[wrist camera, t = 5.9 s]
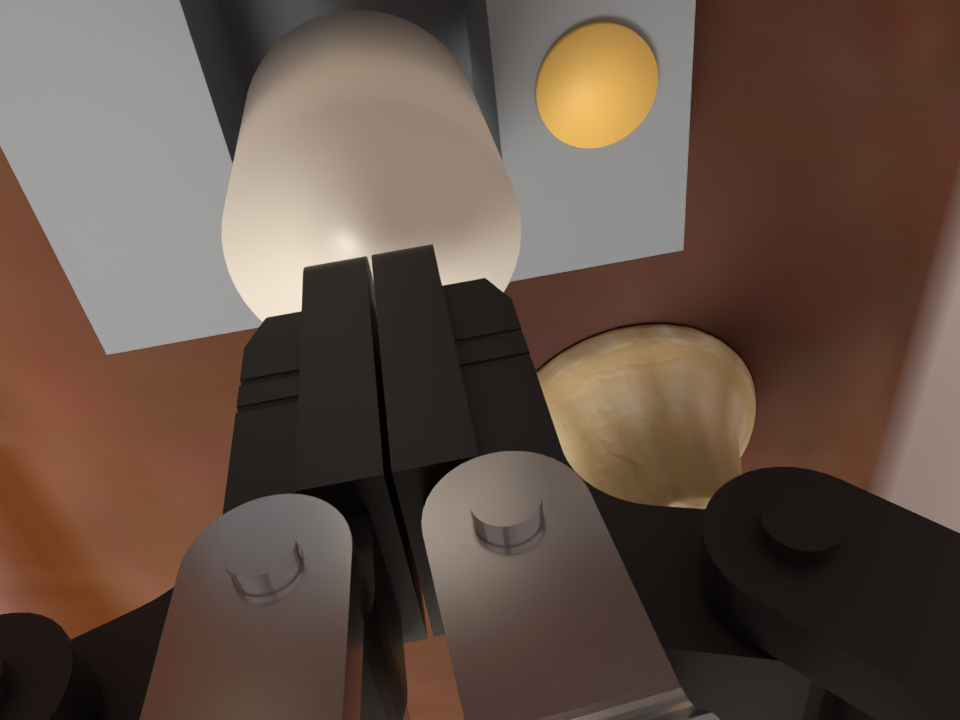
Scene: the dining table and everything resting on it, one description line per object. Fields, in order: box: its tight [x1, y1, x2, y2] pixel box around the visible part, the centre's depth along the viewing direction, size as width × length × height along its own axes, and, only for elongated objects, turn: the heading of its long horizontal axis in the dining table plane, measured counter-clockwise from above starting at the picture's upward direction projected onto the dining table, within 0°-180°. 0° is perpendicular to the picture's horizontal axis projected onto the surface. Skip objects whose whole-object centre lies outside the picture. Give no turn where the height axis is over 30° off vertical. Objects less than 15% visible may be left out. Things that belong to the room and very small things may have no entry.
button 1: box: [221, 10, 521, 322], centre depth 13 cm, size 4×4×4 cm
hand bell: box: [536, 324, 756, 509], centre depth 20 cm, size 8×8×16 cm
